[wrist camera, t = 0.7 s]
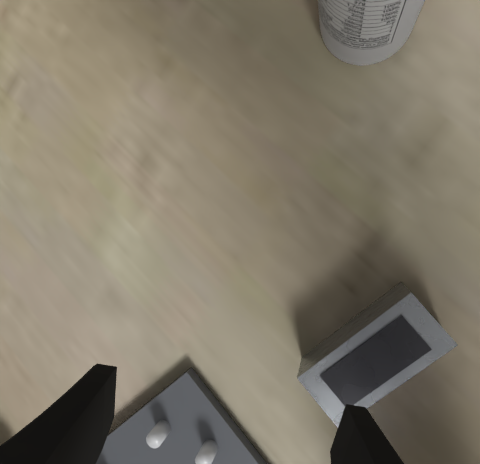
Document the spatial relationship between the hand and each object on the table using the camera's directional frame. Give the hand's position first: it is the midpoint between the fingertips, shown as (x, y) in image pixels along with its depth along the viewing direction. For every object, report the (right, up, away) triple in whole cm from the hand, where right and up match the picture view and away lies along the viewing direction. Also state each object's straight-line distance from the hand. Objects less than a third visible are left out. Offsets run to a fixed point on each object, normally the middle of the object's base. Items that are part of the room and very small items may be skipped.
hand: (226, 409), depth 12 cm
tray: (-6, -14, +20) cm, 26 cm away
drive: (+10, -2, +16) cm, 19 cm away
